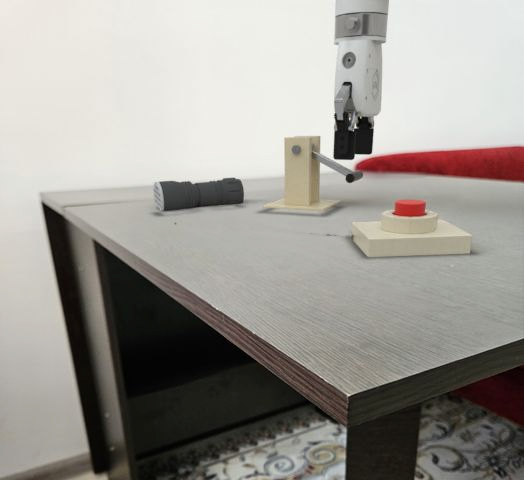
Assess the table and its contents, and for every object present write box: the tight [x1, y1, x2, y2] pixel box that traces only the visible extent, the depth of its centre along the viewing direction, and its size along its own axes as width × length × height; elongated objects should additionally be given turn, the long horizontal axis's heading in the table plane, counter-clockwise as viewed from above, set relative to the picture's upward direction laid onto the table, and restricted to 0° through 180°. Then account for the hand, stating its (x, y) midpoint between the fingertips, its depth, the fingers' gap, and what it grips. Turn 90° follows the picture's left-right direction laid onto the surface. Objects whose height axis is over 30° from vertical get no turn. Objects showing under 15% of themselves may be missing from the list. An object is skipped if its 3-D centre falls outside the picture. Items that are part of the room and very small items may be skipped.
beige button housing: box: [350, 208, 473, 258], centre depth 64 cm, size 12×10×4 cm
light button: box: [394, 199, 427, 217], centre depth 63 cm, size 4×4×2 cm
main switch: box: [311, 143, 364, 184], centre depth 85 cm, size 12×5×2 cm, turn 63°
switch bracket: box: [261, 135, 342, 212], centre depth 88 cm, size 11×9×12 cm
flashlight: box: [153, 177, 245, 212], centre depth 92 cm, size 15×5×5 cm, turn 114°
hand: (353, 156), depth 83 cm, fingers open, 9 cm apart
